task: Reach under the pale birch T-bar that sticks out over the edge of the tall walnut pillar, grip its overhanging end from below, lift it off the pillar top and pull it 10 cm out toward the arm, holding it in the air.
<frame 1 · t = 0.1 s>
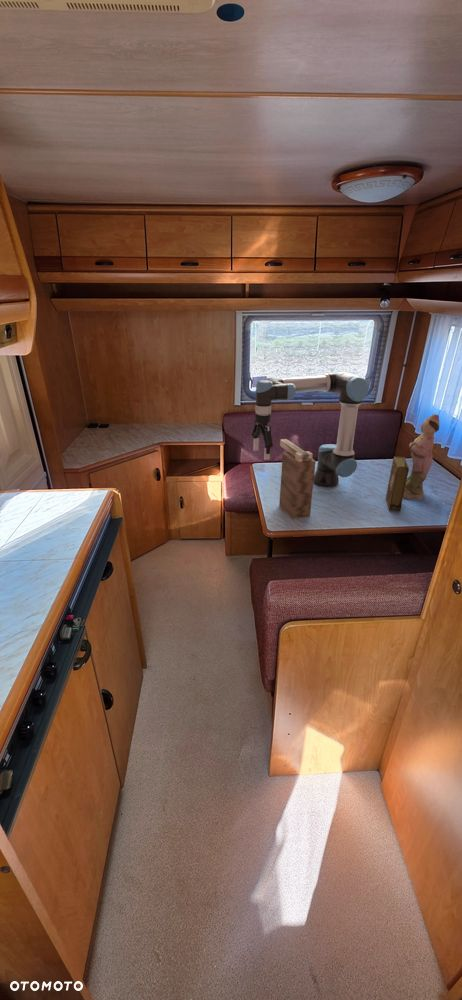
hand: (261, 454, 217), 28 cm above the table, tool pointing down, fingers open, 13 cm apart
book: (392, 505, 230), on the table
statue: (409, 493, 244), on the table
walnut stand: (294, 510, 223), on the table
birch bar: (293, 453, 214), point 30 cm above the table, touching walnut stand
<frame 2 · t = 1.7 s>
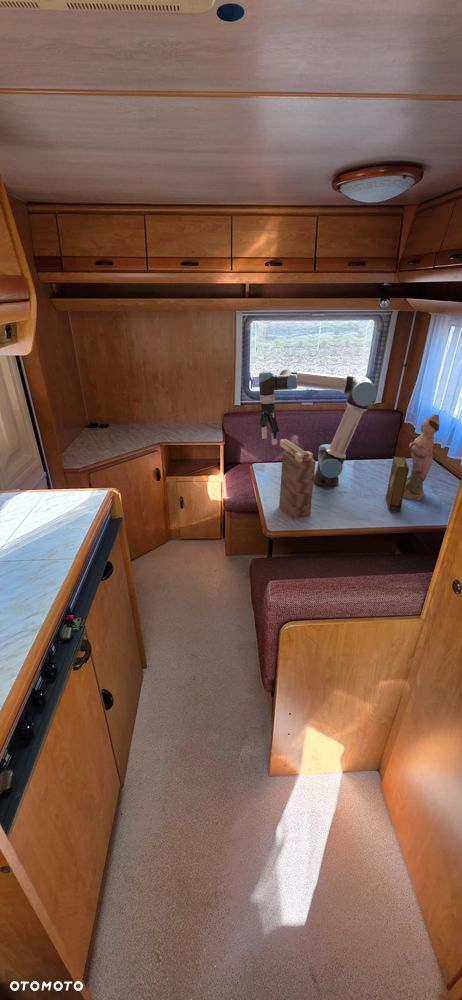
hand: (269, 441, 234), 29 cm above the table, tool pointing down, fingers open, 13 cm apart
nothing on the table moved.
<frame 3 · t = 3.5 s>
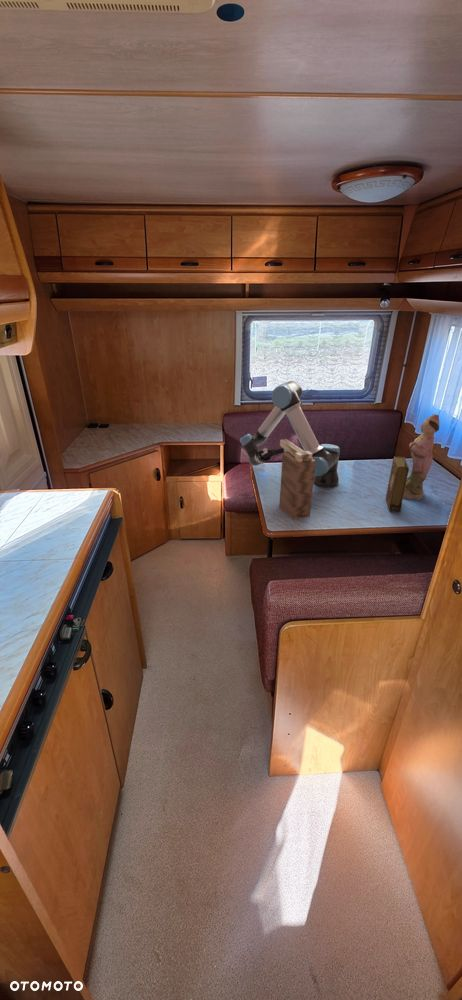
hand: (278, 448, 230), 26 cm above the table, tool pointing upward, fingers open, 13 cm apart
nothing on the table moved.
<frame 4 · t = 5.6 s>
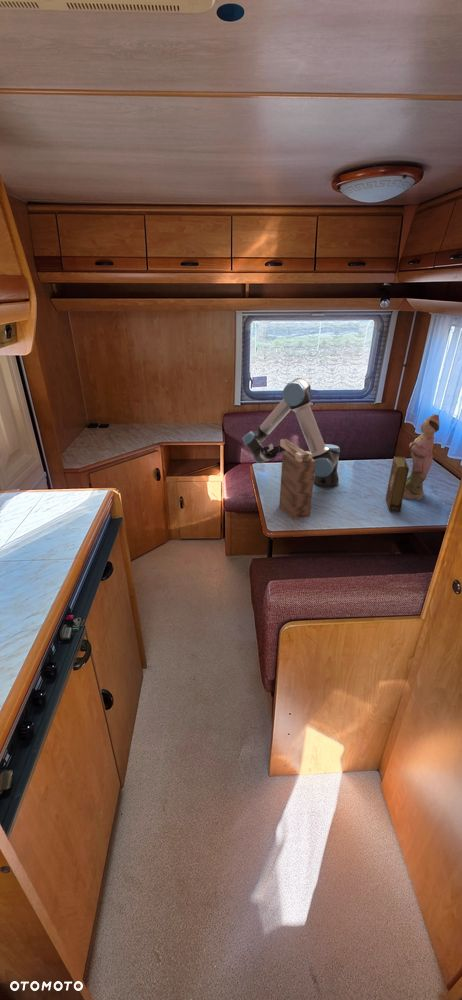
hand: (284, 444, 221), 31 cm above the table, tool pointing upward, fingers open, 13 cm apart
nothing on the table moved.
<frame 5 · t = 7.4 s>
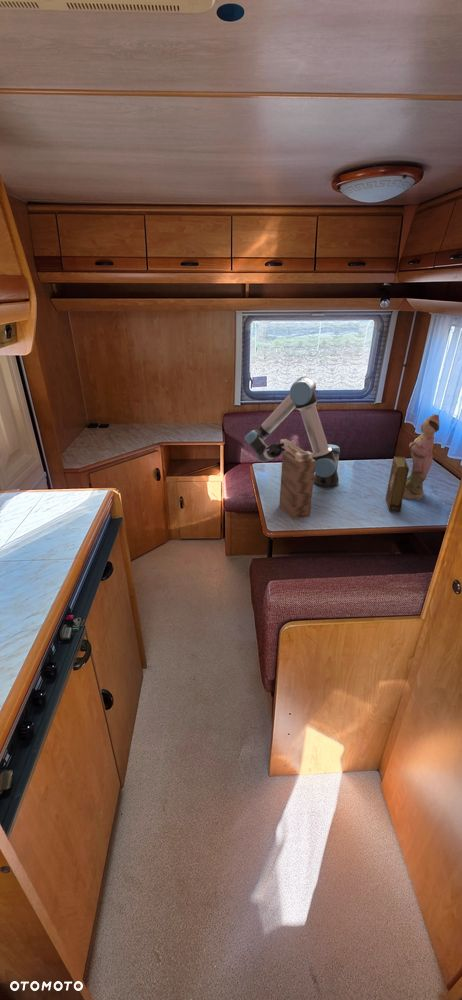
hand: (291, 442, 215), 34 cm above the table, tool pointing upward, fingers closed on birch bar, 3 cm apart
birch bar: (293, 453, 214), point 30 cm above the table, touching gripper, walnut stand
everything else where it was.
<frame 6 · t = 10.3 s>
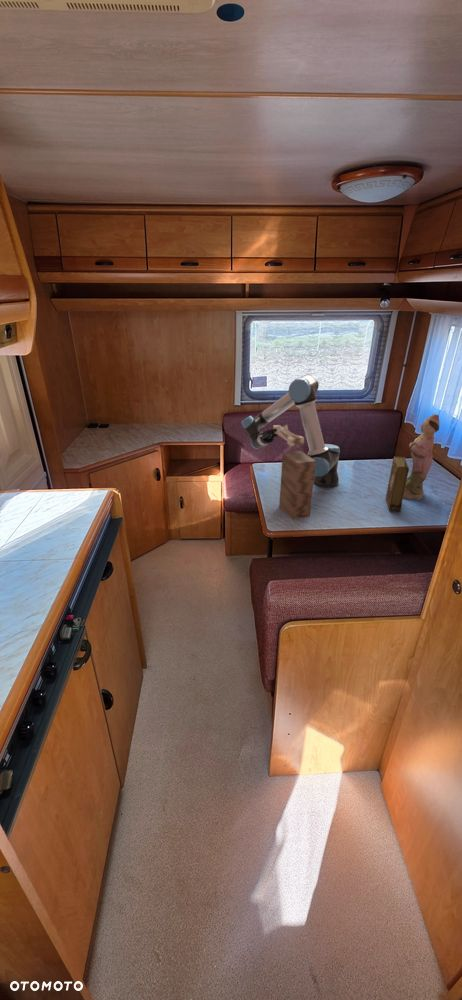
hand: (283, 427, 220), 39 cm above the table, tool pointing upward, fingers closed on birch bar, 3 cm apart
birch bar: (285, 437, 220), point 35 cm above the table, touching gripper
everything else where it was.
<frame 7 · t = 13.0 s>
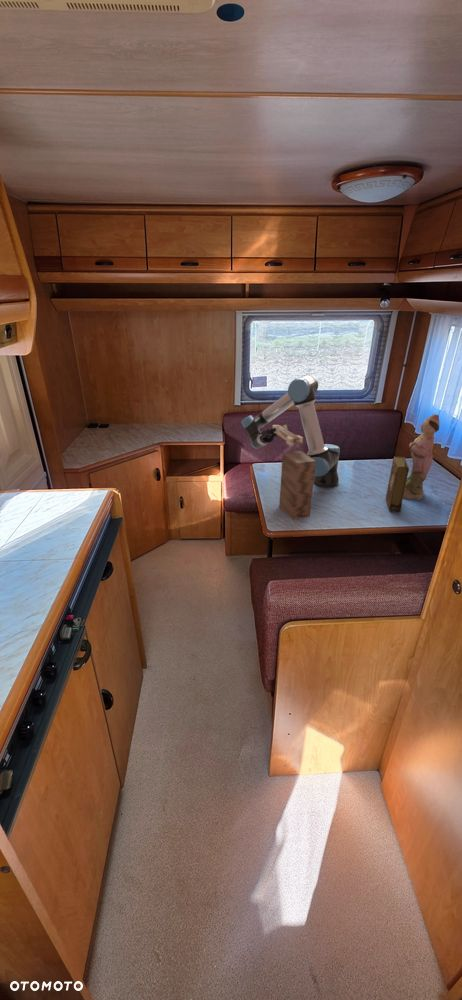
hand: (282, 427, 221), 39 cm above the table, tool pointing upward, fingers closed on birch bar, 3 cm apart
birch bar: (285, 437, 220), point 35 cm above the table, touching gripper
everything else where it was.
at the end: the gripper is holding birch bar; birch bar point 34.9 cm above the table; birch bar moved 11.1 cm from its start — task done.
